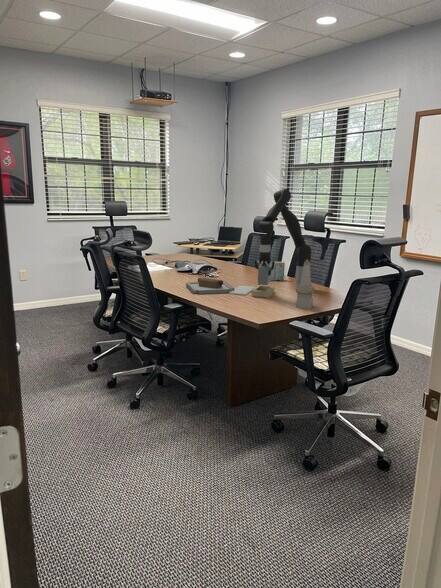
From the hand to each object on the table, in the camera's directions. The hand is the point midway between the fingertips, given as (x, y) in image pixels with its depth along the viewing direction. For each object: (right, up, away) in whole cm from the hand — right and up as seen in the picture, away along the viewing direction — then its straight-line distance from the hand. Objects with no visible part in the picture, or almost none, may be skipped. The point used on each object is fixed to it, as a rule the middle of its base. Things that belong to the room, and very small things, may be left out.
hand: (264, 275), depth 301 cm
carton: (-1, -13, +3) cm, 13 cm away
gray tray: (-38, -10, +16) cm, 43 cm away
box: (0, -6, +1) cm, 6 cm away
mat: (-14, -11, +12) cm, 22 cm away
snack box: (+11, -2, +55) cm, 56 cm away
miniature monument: (+22, -21, -27) cm, 41 cm away
